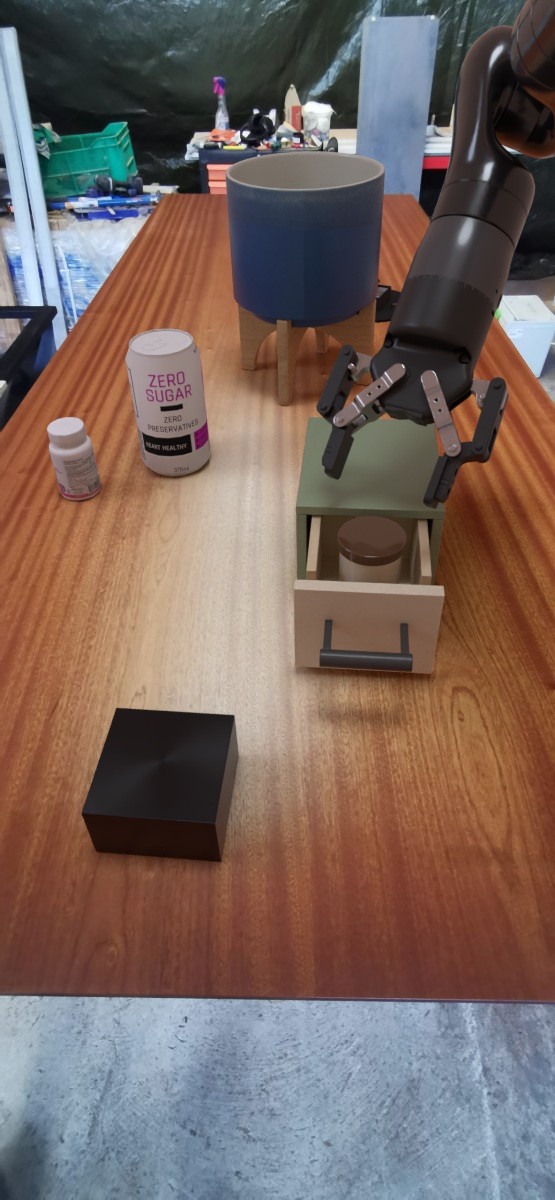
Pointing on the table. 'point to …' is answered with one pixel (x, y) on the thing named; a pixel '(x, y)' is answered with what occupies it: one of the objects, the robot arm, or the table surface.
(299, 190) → the planter
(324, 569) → the drawer
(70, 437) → the pill bottle
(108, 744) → the stand
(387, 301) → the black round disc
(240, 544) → the table surface
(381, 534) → the jar
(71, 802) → the table surface
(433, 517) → the cabinet
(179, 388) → the supplement can
